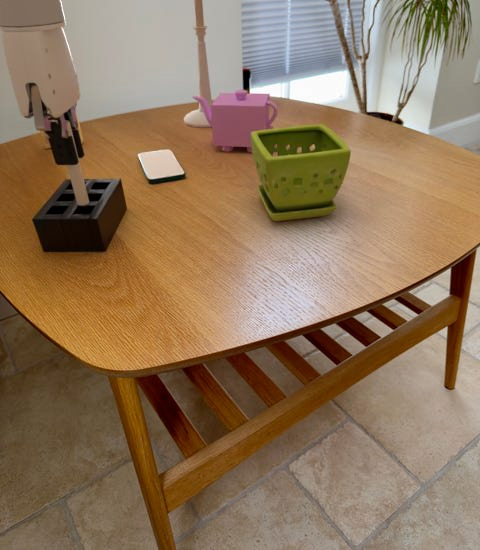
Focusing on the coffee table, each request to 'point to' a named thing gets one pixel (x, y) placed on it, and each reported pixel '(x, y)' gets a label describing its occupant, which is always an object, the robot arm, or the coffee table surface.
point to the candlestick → (200, 71)
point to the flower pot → (299, 170)
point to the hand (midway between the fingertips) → (70, 159)
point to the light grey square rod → (77, 177)
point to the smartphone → (161, 166)
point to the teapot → (237, 117)
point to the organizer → (81, 217)
